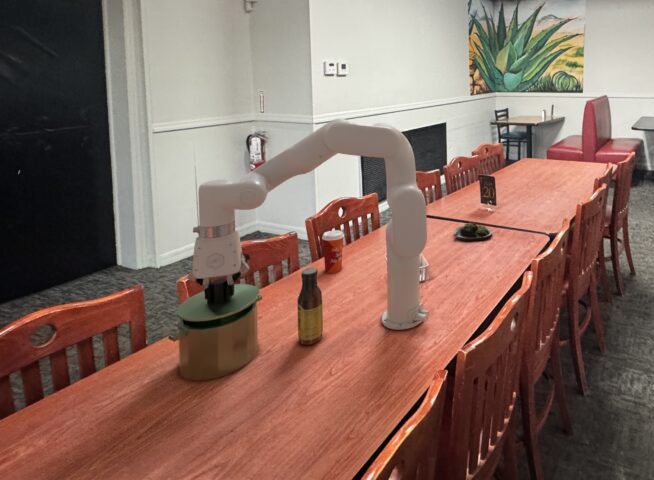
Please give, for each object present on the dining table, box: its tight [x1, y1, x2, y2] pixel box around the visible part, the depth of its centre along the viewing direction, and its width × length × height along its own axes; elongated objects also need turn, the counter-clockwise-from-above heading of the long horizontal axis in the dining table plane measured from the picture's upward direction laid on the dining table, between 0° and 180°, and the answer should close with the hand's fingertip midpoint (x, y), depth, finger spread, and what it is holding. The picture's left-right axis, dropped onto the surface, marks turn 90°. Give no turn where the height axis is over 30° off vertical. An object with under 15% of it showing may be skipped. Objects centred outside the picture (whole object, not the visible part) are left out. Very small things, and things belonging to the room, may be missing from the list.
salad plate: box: [453, 222, 493, 242], centre depth 207 cm, size 19×18×5 cm
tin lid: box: [176, 277, 260, 321], centre depth 114 cm, size 18×18×6 cm
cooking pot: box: [168, 294, 263, 381], centre depth 115 cm, size 17×22×12 cm
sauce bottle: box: [296, 266, 324, 346], centre depth 123 cm, size 7×6×20 cm
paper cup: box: [321, 229, 345, 274], centre depth 167 cm, size 8×8×14 cm
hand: (220, 299), depth 114 cm, fingers closed on tin lid, 3 cm apart
